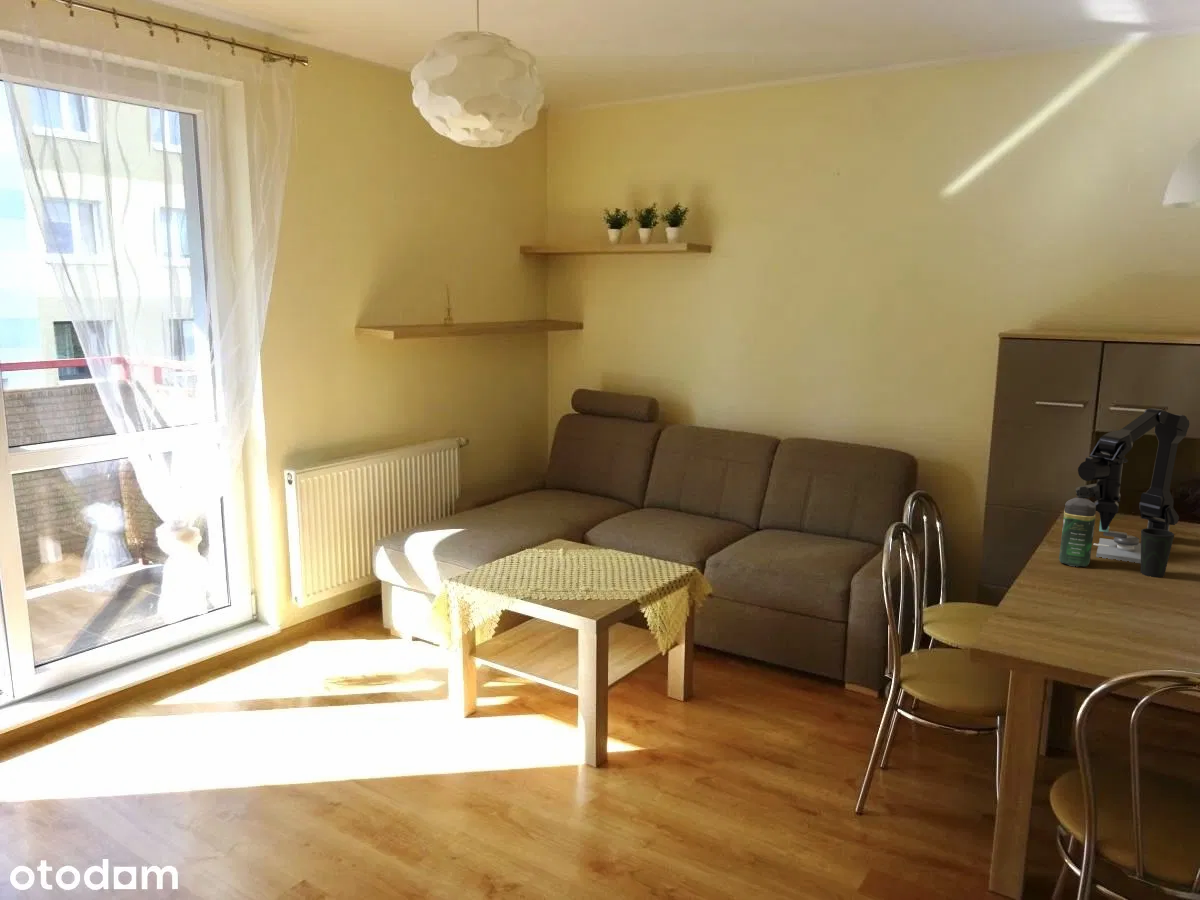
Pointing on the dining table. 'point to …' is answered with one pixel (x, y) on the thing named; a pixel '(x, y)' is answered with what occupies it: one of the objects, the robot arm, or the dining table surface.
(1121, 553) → the base
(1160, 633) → the dining table surface
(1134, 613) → the dining table surface
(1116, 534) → the handle
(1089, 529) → the coffee jar
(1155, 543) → the cup
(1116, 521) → the dining table surface
